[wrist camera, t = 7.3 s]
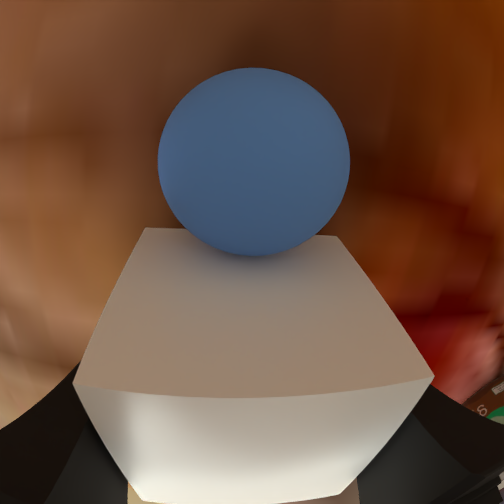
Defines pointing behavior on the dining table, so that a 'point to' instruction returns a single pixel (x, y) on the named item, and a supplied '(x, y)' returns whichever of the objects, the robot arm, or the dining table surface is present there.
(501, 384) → the food container
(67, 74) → the dining table surface
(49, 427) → the robot arm
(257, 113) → the ball
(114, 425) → the white cube block
